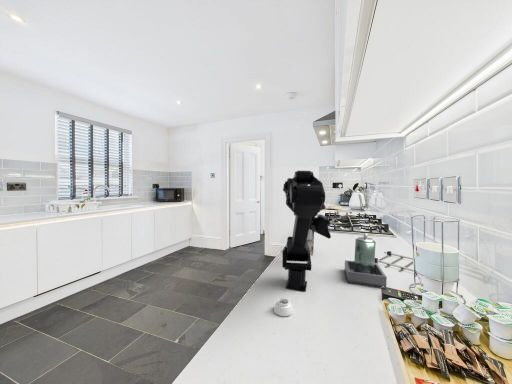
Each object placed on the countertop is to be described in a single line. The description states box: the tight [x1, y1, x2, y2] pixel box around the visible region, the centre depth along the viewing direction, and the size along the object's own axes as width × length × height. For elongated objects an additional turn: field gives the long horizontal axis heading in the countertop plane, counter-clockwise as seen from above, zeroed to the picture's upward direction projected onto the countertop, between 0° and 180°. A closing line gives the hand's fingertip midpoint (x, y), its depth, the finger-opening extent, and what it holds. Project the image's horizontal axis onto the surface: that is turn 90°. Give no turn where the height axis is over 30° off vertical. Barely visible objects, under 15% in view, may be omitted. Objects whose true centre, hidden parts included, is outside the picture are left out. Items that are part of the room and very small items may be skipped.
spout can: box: [353, 232, 377, 274], centre depth 76 cm, size 6×6×16 cm
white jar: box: [273, 297, 294, 317], centre depth 56 cm, size 5×3×5 cm
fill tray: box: [344, 259, 388, 289], centre depth 76 cm, size 12×12×4 cm
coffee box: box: [307, 229, 315, 256], centre depth 104 cm, size 9×6×16 cm
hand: (323, 234), depth 85 cm, fingers open, 9 cm apart
